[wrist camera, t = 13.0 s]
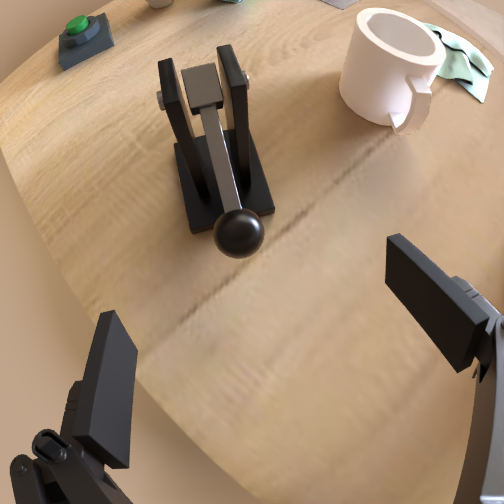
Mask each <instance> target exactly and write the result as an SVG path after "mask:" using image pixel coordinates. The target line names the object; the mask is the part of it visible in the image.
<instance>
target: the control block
mask: <svg viewBox="0 0 504 504" xmlns="http://www.w3.org/2000/svg"><path fill="white" fill-rule="evenodd" d="M86 18H87V20H88V22H89V26H88V27H87V28H86V29H84V30H83V31H82V32H80V33H78V34H76V35H72V36H71V35H70V34H69V33H68V31H67V29H65V31H64V32H63V33H62V34H60V35H59V58H58V62H59V64H60V66H61V67H62V69H63V70H64V71H65V70H67V69H68V68H70V67H72V66H74V65H76V64H77V63H79V62H81V61H83V60H85V59H87V58H89V57H91V56H93V55H95V54H97V53H99V52H101V51H103V50H105V49H108V48H110V47H112V46H114V43H113V39H112V35H111V31H110V27H109V22H108V19H107V17H106V14H105V12H104V13H102V14H100V15H98V16H96V17H94V16H88V17H86Z"/></svg>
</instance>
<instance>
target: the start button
mask: <svg viewBox="0 0 504 504" xmlns="http://www.w3.org/2000/svg"><path fill="white" fill-rule="evenodd" d="M88 26H89V22H88V20H87V18H86V16H84V15H82V16H78V17H76V18H74V19H73V20H71V21H70V22H69V23H68V24H67V25H66V29H67V31H68V33H69V34H70V35H71V36H72V35H76V34H78V33H80V32H82V31H83V30H84V29H86V28H87V27H88Z"/></svg>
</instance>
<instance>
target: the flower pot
mask: <svg viewBox="0 0 504 504" xmlns="http://www.w3.org/2000/svg"><path fill="white" fill-rule="evenodd" d="M222 1H228V2H233V3H239V2H240V1H241V0H222Z"/></svg>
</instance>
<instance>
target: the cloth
mask: <svg viewBox="0 0 504 504" xmlns="http://www.w3.org/2000/svg"><path fill="white" fill-rule="evenodd" d="M422 24H423V25H425V26H426V27H427V28H429V29H430V30H431V31H432V32H433V33H434V34H435V35H436V36H437V37H438V38H439V39H440V40H441V42H442V44H443V45H444V47H445V50H446V58H445V60H444V62H443V64H442V66H441V68H440V69H439V71H438V73H437V76H440V77H443V78H446V79H454V80H455V81H456V82H458V83H459V84H460V85H462V86H463V87H464V88H465V89H466V90H467V91H469V92H470V93H471V94H472V95H473V96H475V97H476V98H477V99H478V100H479V101H481V102H482V103H483V101H484V98H485V95H486V91H487V87H488V82H489V75H490V74H491V70H493V67H492V65H491V64H490V62H489V61H488V60H487V59H486V58H485V57H484V56H483V54H482V53H481V52H480V51H479V50H478V49H476V48H475V47H474V46H473V45H472V44H470V43H469V42H468V41H466V40H465V39H463V38H461V37H459V36H457V35H455V34H453V33H450V32H448V31H446V30H443V29H442V28H440V27H437V26H434V25H431V24H427V23H422Z"/></svg>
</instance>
